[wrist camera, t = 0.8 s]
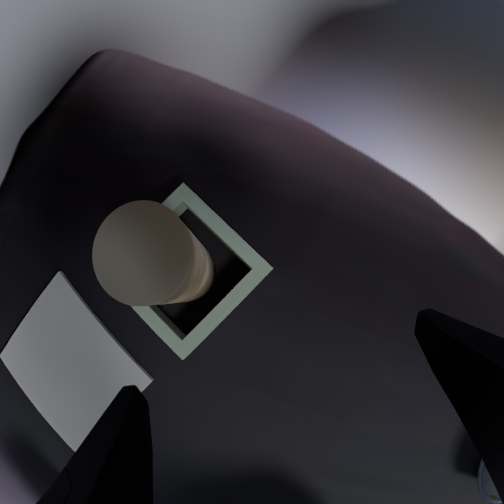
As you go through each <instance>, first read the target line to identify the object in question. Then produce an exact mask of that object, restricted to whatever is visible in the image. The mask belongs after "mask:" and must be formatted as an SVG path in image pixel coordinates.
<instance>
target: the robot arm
mask: <svg viewBox="0 0 504 504" xmlns="http://www.w3.org/2000/svg"><path fill="white" fill-rule="evenodd" d="M415 336H416V338H417V340H418V342H419V344H420V346H421V348H422V351H423V353H424V355H425V357H426V359H427V361H428V363H429V365H430V367H431V369H432V371H433V373H434V375H435V376H436V378H437V380H438V381H439V383H440V385H441V386H442V388H443V390H444V391H445V393H446V395H447V396H448V398H449V400H450V401H451V403H452V405H453V407H454V408H455V410H456V412H457V414H458V415H459V417H460V419H461V421H462V423H463V424H464V426H465V428H466V430H467V432H468V433H469V435H470V437H471V439H472V441H473V443H474V445H475V447H476V448H477V450H478V452H479V454H480V456H481V458H482V460H483V462H484V464H485V467H486V469H487V471H488V473H489V475H490V477H491V479H492V481H493V483H494V485H495V487H496V490H497V492H498V494H499V496H500V499H501V501H502V503H503V504H504V338H503V337H500V336H498V335H495V334H493V333H491V332H488V331H486V330H483V329H481V328H478V327H476V326H473V325H471V324H469V323H466V322H464V321H461V320H459V319H456V318H454V317H451V316H449V315H446V314H444V313H441V312H439V311H436V310H434V309H431V308H426V309H424V310H421V311H419V312H418V314H417V319H416V325H415ZM36 504H153V453H152V438H151V428H150V417H149V406H148V402H147V400H146V399H145V397H144V396H143V394H142V393H141V391H140V390H139V388H138V387H137V386H136V385H128V386H123V387H122V388H121V390H120V391H119V392H118V394H117V395H116V396H115V398H114V399H113V401H112V402H111V403H110V405H109V406H108V407H107V409H106V410H105V412H104V413H103V414H102V416H101V417H100V418H99V420H98V421H97V423H96V424H95V425H94V427H93V428H92V429H91V431H90V432H89V434H88V435H87V436H86V438H85V439H84V441H83V442H82V443H81V445H80V446H79V448H78V449H77V450H76V452H75V453H74V455H73V456H72V457H71V459H70V460H69V462H68V463H67V466H65V467H64V469H63V470H62V472H61V473H60V474H59V476H58V477H57V478H56V480H55V481H54V482H53V484H52V485H51V486H50V488H49V489H48V490H47V491H46V492H45V494H44V495H43V496H42V497H41V498H40V499H39V501H38V502H37V503H36Z"/></svg>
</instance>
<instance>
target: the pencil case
mask: <svg viewBox="0 0 504 504" xmlns="http://www.w3.org/2000/svg"><path fill="white" fill-rule="evenodd" d="M477 484H478V490H479V493H480V495H481V496H482V497H483V498H484V499H485V500H486V501H488V502H491V503H502V501H501V499H500V496H499V494H498V492H497V490H496V487H495V485H494V483H493V481H492V479H491V477H490V475H489V473H488V471H487V469H486V467H485V464H484V462H483V460H482V459H481V461H480V466H479V471H478V479H477Z"/></svg>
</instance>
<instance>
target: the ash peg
mask: <svg viewBox="0 0 504 504" xmlns="http://www.w3.org/2000/svg"><path fill="white" fill-rule="evenodd" d="M92 260H93V267H94V271H95V274H96V277H97V279H98V281H99V283H100V284H101V286H102V287H103V289H104V290H105V291H106V292H107V293H108V294H109V295H110V296H111V297H113V298H114V299H116V300H117V301H119V302H121V303H124V304H127V305H131V306H150V305H160V304H170V303H180V302H189V301H194V300H197V299H199V298H201V297H203V296H204V295H205V294H207V293H208V291H209V290H210V289H211V287H212V286H213V283H214V281H215V276H216V267H215V263H214V260H213V258H212V256H211V255H210V253H209V252H208V251H207V250H206V249H205V247H204V246H203V245H202V244H201V243H200V242H199V240H198V239H197V238H196V237H195V236H194V235H193V233H192V232H191V231H190V230H189V229H188V228H187V226H186V225H185V224H184V223H183V222H182V220H181V219H180V218H179V217H178V216H177V215H176V214H175V213H174V212H173V211H172V210H171V209H169V208H168V207H166V206H165V205H162V204H160V203H157V202H154V201H148V200H139V201H133V202H129V203H127V204H124V205H122V206H120V207H119V208H117V209H116V210H114V211H113V212H112V213H111V214H110V215H109V216H108V217H107V218H106V219H105V220H104V221H103V223H102V224H101V226H100V228H99V230H98V232H97V234H96V237H95V240H94V244H93V251H92Z"/></svg>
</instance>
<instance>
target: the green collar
mask: <svg viewBox="0 0 504 504" xmlns="http://www.w3.org/2000/svg"><path fill="white" fill-rule="evenodd" d="M162 205H165V206H166V207H168V208H169V209H171V210H172V211H173V212H174V213H175V214H176V215H177V216H178V217H179V216H180V215H181V214H182V213H183V212H184V211H185V210H186V209H187V208H188V209H189V210H190V211H191V212H192V213H193V214H194V215H195V216H196V217H197V218H198V219H199V220H200V221H201V222H202V223H203V224H204V225H205V226H206V227H207V228H208V229H209V230H210V231H211V232H212V233H213V234H214V235H215V236H216V237H217V238H218V239H219V240H220V241H221V242H223V243H224V244H225V245H226V246H227V247H228V248H229V249H230V250H231V251H232V252H233V253H234V254H235V255H236V256H237V257H238V258H239V259H240V260H241V261H242V262H243V263H244V264H245V265H246V266H247V267H248V268H249V269H250V270H251V271H250V272H249V273H248V274H247V275H246V276H245V277H244V278H243V279H242V280H241V281H240V282H239V283H238V284H237V285H236V286H235V287H234V288H233V289H232V290H231V291H230V292H229V293H228V294H227V295H226V297H225V298H224V299H223V300H222V301H221V302H220V303H219V304H218V305H217V306H216V307H215V308H214V309H213V310H212V311H211V312H210V313H209V314H208V315H207V316H206V317H205V318H204V319H203V320H202V321H201V322H200V323H199V324H198V325H197V326H196V327H195V328H194V329H193V330H192V331H191V332H190V333H189V334H188V335H187V336H186V335H185V334H184V333H183V332H182V331H181V330H180V329H179V328H178V327H177V326H176V325H175V324H174V323H173V322H172V321H171V320H170V319H169V318H168V317H167V316H166V315H165V314H164V313H163V312H162V311H161V310H160V308H159V307H158V306H157V305H150V306H131V305H130V306H131V307H132V308H133V309H134V310H135V311H136V312H137V313H138V314H139V316H140V317H141V318H142V319H143V320H144V321H145V322H146V323H147V324H148V325H149V326H150V327H151V328H152V330H153V331H154V332H155V333H156V334H157V335H158V336H159V337H160V338H161V339H162V340H163V341H164V342H165V343H166V344H167V345H168V346H169V347H170V348H171V349H172V350H173V351H174V352H175V353H176V354H177V355H178V356H179V357H180V358H181V359H182V360H184V359H185V358H186V357H187V356H188V355H189V354H190V353H191V352H192V351H193V350H194V349H195V348H196V347H197V346H198V345H199V344H200V343H201V342H202V341H203V340H204V339H205V338H206V337H207V336H208V335H209V334H210V333H211V332H212V331H213V330H214V329H215V328H216V327H217V326H218V325H219V324H220V323H221V322H222V321H223V320H224V319H225V318H226V317H227V316H228V315H229V313H230V312H231V311H232V310H233V309H234V308H235V307H236V306H237V305H238V304H239V303H240V302H241V301H242V300H243V299H244V298H245V297H246V296H247V295H248V294H249V293H250V292H251V291H252V290H253V289H254V288H255V287H256V286H257V285H258V284H259V283H260V282H261V281H262V280H263V278H264V277H265V276H266V275H267V274H268V273H269V272H270V271H271V270H272V269H273V268H272V267H271V266H270V265H269V264H268V263H267V262H266V261H265V260H264V259H263V258H262V257H261V256H260V255H259V254H258V253H257V252H256V251H255V250H253V249H252V248H251V247H250V246H249V245H248V244H247V243H246V242H245V241H244V240H243V239H242V238H241V237H240V236H239V235H238V234H237V233H236V232H235V231H234V230H233V229H231V228H230V227H229V226H228V225H227V224H226V223H225V222H224V221H223V220H222V219H221V218H220V217H219V216H218V215H217V214H216V213H215V212H214V211H213V210H212V209H211V208H209V207H208V206H207V205H206V204H205V203H204V202H203V201H202V200H201V199H200V198H199V197H198V196H197V195H196V194H195V193H194V192H193V191H192V190H191V189H190V188H189V187H187V186H186V185H185V184H184V183H182V184H181V185H180V186H179V187H178V188H177V189H176V190H175V191H174V192H173V193H172V194H171V195H170V196H169V197H168V198H167V199H166V200H165V201H164V202H163V203H162Z"/></svg>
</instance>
